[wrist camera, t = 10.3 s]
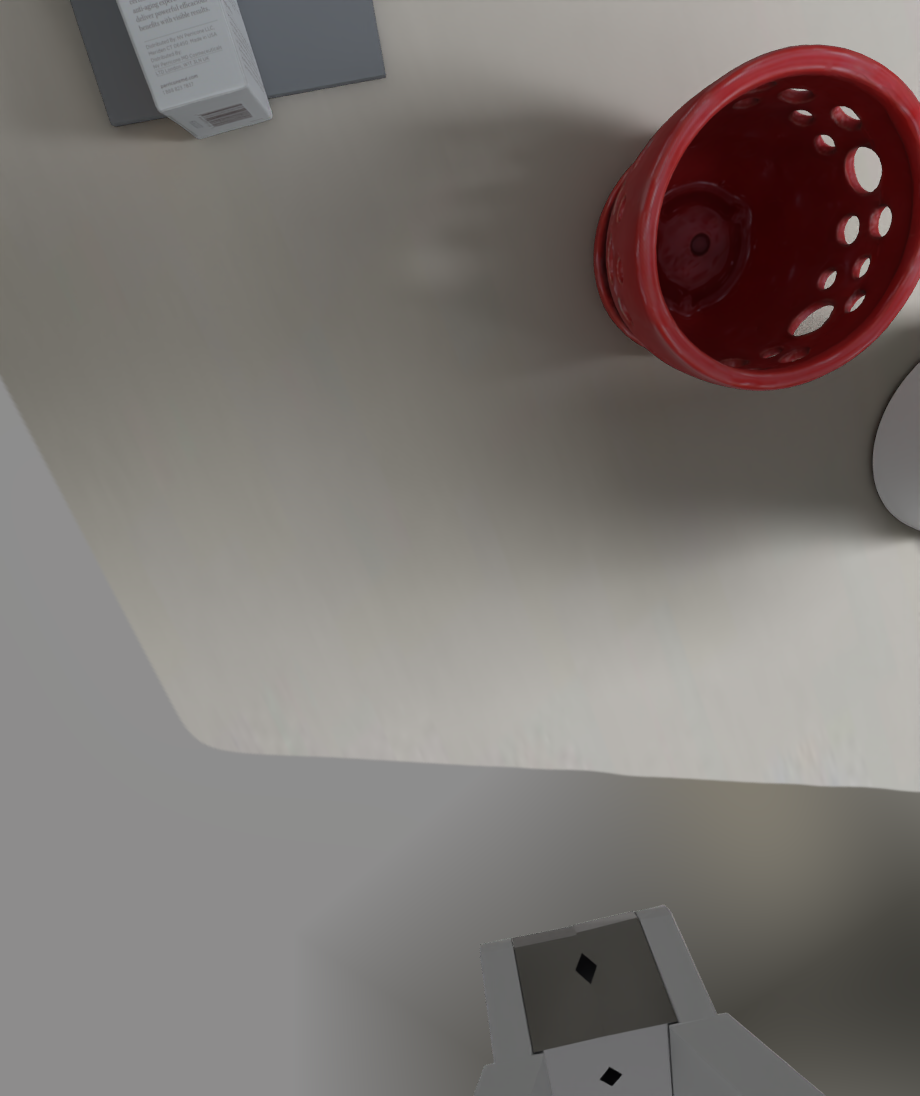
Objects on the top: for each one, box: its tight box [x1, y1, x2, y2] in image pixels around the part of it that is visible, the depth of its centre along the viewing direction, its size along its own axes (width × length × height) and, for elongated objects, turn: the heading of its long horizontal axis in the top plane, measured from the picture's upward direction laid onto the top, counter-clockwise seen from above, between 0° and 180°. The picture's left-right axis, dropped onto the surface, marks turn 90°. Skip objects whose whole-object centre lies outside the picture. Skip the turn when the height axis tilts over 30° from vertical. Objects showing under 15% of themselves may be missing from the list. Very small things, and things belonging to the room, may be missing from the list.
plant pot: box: [594, 45, 920, 391], centre depth 32 cm, size 13×13×12 cm
